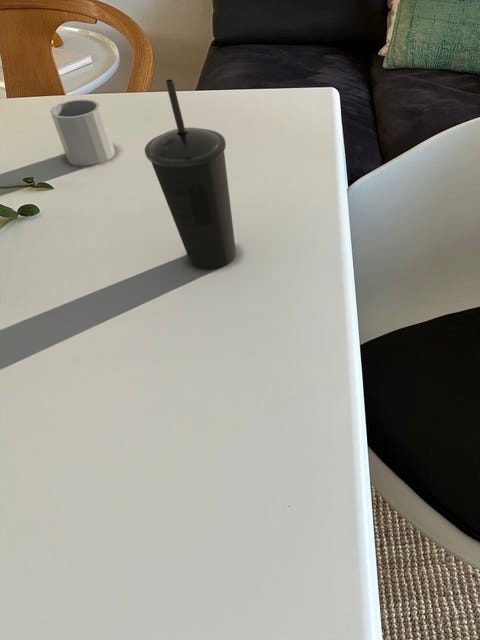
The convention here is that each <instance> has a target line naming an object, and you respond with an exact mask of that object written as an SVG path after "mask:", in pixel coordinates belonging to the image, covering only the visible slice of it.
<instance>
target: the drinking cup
mask: <svg viewBox="0 0 480 640" xmlns="http://www.w3.org/2000/svg"><path fill="white" fill-rule="evenodd" d="M165 85H166V89H167V93H168V98H169V102H170V105H171V109H172V113H173V117H174V120H175V124H176V128H175V129H171V130H168V131H166V132H164V133H162V134H159V135H157V136H155V137H154V138H152V139H151V140H149V141H148V142H147V144H146V145H145V147H144V154H145V156H146V159H147V160H148V161H149V162H150V163H151V165H152V168H153V171H154V173H155V176H156V178H157V182H158V183H159V186H160V188H161V191H162V193H163V196H164V198H165V200H166V201H165V202H166V204H167V206H168V209H169V211H170V214H171V216H172V219H173V221H174V225H175V227H176V230H177V232H178V235H179V237H180V240H181V242H182V245H183V247H184V251H185V252H186V255H187V257H188V260H189V263H190V265H191V266H192V267H194V268H196V269H199V270H204V271H209V270H210V271H211V270H217V269H222V268H224V267H226V266H228V265H230V264H232V263H233V262H234V261H235V259H236V257H237V250H236V242H235V241H236V240H235V233H234V224H233V217H232V216H233V215H232V208H231V207H232V206H231V198H230V191H229V190H230V189H229V182H228V174H227V165H226V155H225V150H226V147H227V142H226V139H225V137H224V135H222V134H221V133H220V132H217V131H215V130H212V129H207V128H200V127H185V123H184V119H183V116H182V112H181V108H180V107H181V106H180V104H179V100H178V95H177V92H176V87H175V84H174V80H173V79H171V78H169V79H166V80H165Z"/></svg>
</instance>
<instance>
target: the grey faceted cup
mask: <svg viewBox="0 0 480 640" xmlns="http://www.w3.org/2000/svg"><path fill="white" fill-rule="evenodd" d="M49 112H50V115H51V118H52V120H53V124H54V126H55V129H56V131H57V134H58V137H59V140H60V142H61V145H62V148H63V151H64V154H65V156H66V159H67V162H68V163H69V164H72V165H74V166H81V167H83V166H93V165H98V164H99V165H100V164H101V163H104V162H108V161H109V160H110V159H111V158H113V157H114V156H115V153H116V152H115V148H114V146H113V141H112V139H111V136H110V133H109V129H108V127H107V123H106V121H105V117H104V114H103V111H102V108H101V105H100V103H99V102H98V101H96V100H93V99H85V98H84V99H83V98H82V99H73V100H67V101H64V102H61V103H58V104H57V105H55V106H52V108H51V109H50V111H49Z"/></svg>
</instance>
